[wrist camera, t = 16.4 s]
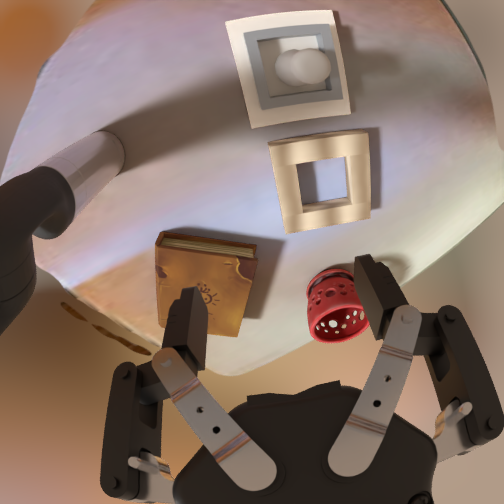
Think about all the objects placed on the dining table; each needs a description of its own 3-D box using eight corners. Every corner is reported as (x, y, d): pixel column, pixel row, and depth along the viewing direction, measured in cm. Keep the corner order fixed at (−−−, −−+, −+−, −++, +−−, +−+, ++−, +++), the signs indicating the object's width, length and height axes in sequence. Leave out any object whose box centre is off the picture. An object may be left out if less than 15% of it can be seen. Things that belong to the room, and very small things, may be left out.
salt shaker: (305, 47, 31) (331, 36, 21) (316, 80, 34) (346, 84, 24) (267, 56, 32) (278, 47, 22) (280, 90, 36) (296, 96, 25)
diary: (161, 229, 51) (153, 246, 47) (256, 243, 54) (257, 261, 49) (162, 309, 64) (157, 327, 60) (237, 319, 67) (237, 338, 62)
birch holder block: (283, 225, 51) (285, 234, 49) (267, 142, 42) (269, 147, 39) (364, 210, 49) (370, 218, 47) (361, 129, 40) (368, 133, 38)
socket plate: (251, 127, 40) (252, 132, 37) (225, 23, 30) (223, 17, 26) (348, 113, 38) (358, 117, 35) (329, 11, 28) (338, 6, 25)
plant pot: (300, 267, 57) (311, 310, 48) (359, 259, 57) (379, 299, 47) (300, 308, 65) (309, 349, 55) (352, 301, 64) (366, 339, 55)
